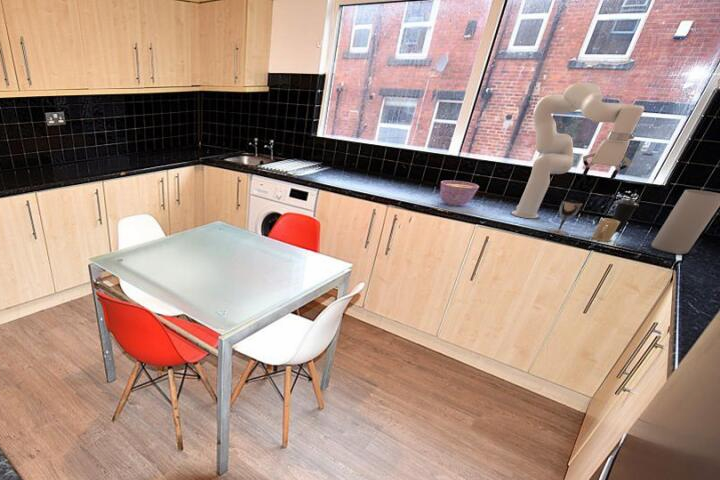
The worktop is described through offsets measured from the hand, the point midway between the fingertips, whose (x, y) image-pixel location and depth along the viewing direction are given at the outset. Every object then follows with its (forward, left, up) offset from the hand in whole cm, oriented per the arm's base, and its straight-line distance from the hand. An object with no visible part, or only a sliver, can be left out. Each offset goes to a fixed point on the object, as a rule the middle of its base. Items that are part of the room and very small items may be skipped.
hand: (597, 178), depth 193 cm
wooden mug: (+6, +10, -26) cm, 29 cm away
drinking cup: (-13, +27, -26) cm, 40 cm away
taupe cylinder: (+14, +34, -26) cm, 45 cm away
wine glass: (-1, -5, -26) cm, 27 cm away
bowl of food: (-45, -41, -26) cm, 66 cm away
